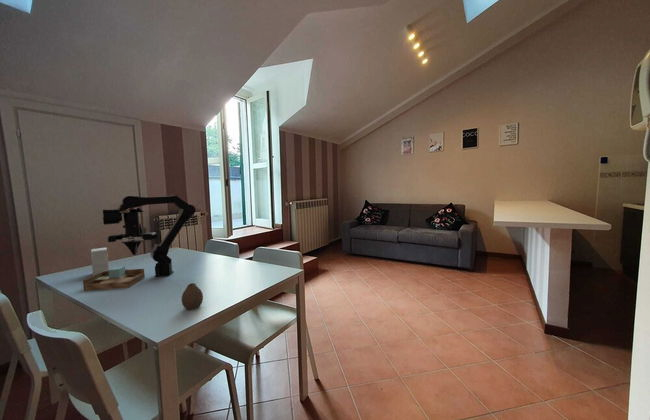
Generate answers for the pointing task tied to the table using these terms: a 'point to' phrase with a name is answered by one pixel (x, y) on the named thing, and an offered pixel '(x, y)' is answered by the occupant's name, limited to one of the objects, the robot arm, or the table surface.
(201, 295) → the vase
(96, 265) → the small box
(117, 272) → the block
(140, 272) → the box
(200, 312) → the table surface
